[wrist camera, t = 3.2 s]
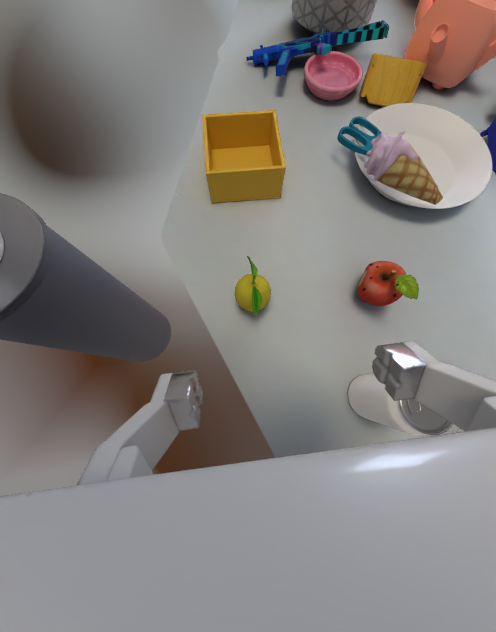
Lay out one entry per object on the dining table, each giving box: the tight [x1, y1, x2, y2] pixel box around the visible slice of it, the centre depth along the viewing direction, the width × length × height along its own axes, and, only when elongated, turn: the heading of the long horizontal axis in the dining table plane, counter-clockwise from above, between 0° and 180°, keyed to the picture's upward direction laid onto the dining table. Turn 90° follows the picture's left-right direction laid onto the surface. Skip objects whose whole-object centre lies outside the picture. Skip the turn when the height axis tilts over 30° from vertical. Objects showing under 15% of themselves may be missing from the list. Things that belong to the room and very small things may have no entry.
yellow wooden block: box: [360, 53, 427, 107], centre depth 51 cm, size 10×10×9 cm
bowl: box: [354, 103, 492, 209], centre depth 44 cm, size 25×25×4 cm
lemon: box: [235, 256, 271, 316], centre depth 34 cm, size 7×6×10 cm
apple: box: [357, 261, 419, 306], centre depth 34 cm, size 8×7×10 cm
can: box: [348, 374, 453, 436], centre depth 29 cm, size 6×6×12 cm
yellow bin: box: [202, 110, 286, 203], centre depth 43 cm, size 13×13×7 cm
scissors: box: [337, 117, 438, 187], centre depth 42 cm, size 7×1×20 cm
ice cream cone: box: [364, 131, 443, 205], centre depth 38 cm, size 7×6×15 cm
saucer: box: [304, 51, 363, 100], centre depth 51 cm, size 12×12×3 cm
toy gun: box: [247, 21, 389, 76], centre depth 49 cm, size 3×30×15 cm
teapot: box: [404, 0, 496, 89], centre depth 47 cm, size 18×18×14 cm
